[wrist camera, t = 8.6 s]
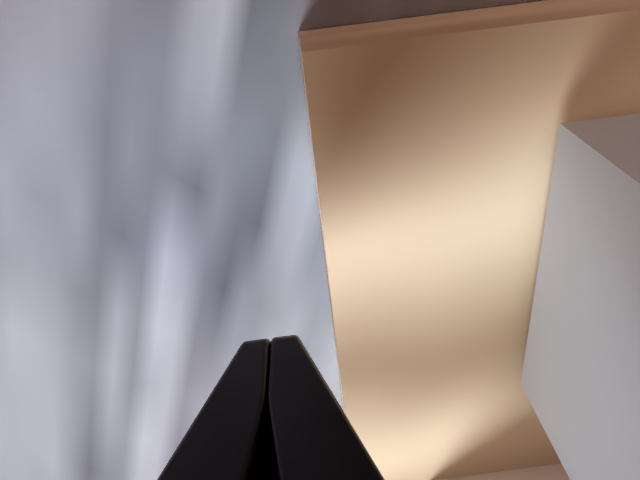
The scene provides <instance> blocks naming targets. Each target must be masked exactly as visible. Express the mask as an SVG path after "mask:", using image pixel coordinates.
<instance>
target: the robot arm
mask: <svg viewBox="0 0 640 480" xmlns="http://www.w3.org/2000/svg"><path fill="white" fill-rule="evenodd" d="M158 480H385V479H384V478H383V476H382V474H381V473H380V471H379V469H378V468H377V466H376V465H375V463H374V461H373V460H372V458H371V456H370V455H369V453H368V451H367V450H366V448H365V446H364V445H363V443H362V441H361V440H360V438H359V436H358V435H357V433H356V431H355V430H354V428H353V426H352V425H351V423H350V421H349V420H348V418H347V416H346V415H345V413H344V411H343V410H342V408H341V406H340V405H339V403H338V401H337V400H336V398H335V396H334V395H333V393H332V391H331V390H330V388H329V387H328V385H327V383H326V382H325V380H324V378H323V377H322V375H321V373H320V372H319V370H318V368H317V367H316V365H315V363H314V362H313V360H312V358H311V357H310V355H309V353H308V352H307V350H306V348H305V347H304V345H303V343H302V342H301V340H300V338H299V337H298V336H296V335H290V336H282V337H275V338H273V339H272V341H271V342H270V340H268V339H259V340H252V341H246V342H244V343H243V344H242V345H241V346H240V348H239V349H238V351H237V353H236V354H235V356H234V357H233V359H232V361H231V362H230V364H229V365H228V367H227V369H226V370H225V372H224V373H223V375H222V377H221V378H220V380H219V381H218V383H217V385H216V386H215V388H214V390H213V391H212V393H211V394H210V396H209V398H208V399H207V401H206V402H205V404H204V406H203V407H202V409H201V410H200V412H199V414H198V415H197V417H196V418H195V420H194V422H193V423H192V425H191V426H190V428H189V430H188V431H187V433H186V435H185V436H184V438H183V439H182V441H181V443H180V444H179V446H178V447H177V449H176V451H175V452H174V454H173V455H172V457H171V459H170V460H169V462H168V463H167V465H166V467H165V468H164V470H163V471H162V473H161V475H160V476H159V478H158Z"/></svg>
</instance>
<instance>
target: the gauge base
mask: <svg viewBox="0 0 640 480" xmlns="http://www.w3.org/2000/svg"><path fill="white" fill-rule="evenodd" d="M298 37H299V45H300V53H301V62H302V70H303V78H304V87H305V95H306V103H307V112H308V120H309V128H310V137H311V145H312V153H313V161H314V170H315V178H316V186H317V195H318V203H319V211H320V220H321V228H322V236H323V245H324V253H325V261H326V269H327V278H328V286H329V294H330V303H331V311H332V319H333V328H334V336H335V344H336V352H337V361H338V369H339V377H340V386H341V394H342V402H343V411H344V413H345V415H346V416H347V418H348V420H349V421H350V423H351V425H352V426H353V428H354V430H355V431H356V433H357V435H358V436H359V438H360V440H361V441H362V443H363V445H364V446H365V448H366V450H367V451H368V453H369V455H370V456H371V458H372V460H373V461H374V463H375V465H376V466H377V468H378V469H379V471H380V473H381V474H382V476H383V478H384V479H385V480H570V478H569V477H568V475H567V473H566V471H565V469H564V467H563V465H562V463H561V461H560V459H559V457H558V455H557V453H556V451H555V449H554V448H553V446H552V444H551V442H550V440H549V438H548V436H547V434H546V432H545V430H544V428H543V426H542V424H541V422H540V420H539V419H538V417H537V415H536V413H535V411H534V409H533V407H532V405H531V403H530V401H529V399H528V397H527V395H526V393H525V391H524V390H523V388H522V386H521V377H522V370H523V364H524V357H525V351H526V344H527V338H528V331H529V324H530V318H531V311H532V305H533V298H534V292H535V285H536V278H537V272H538V265H539V259H540V252H541V245H542V239H543V232H544V226H545V219H546V213H547V206H548V199H549V193H550V186H551V180H552V173H553V166H554V160H555V153H556V147H557V140H558V134H559V127H560V123H567V122H575V121H583V120H591V119H599V118H606V117H614V116H622V115H630V114H638V113H640V0H545V1H537V2H529V3H521V4H513V5H505V6H497V7H489V8H481V9H473V10H465V11H457V12H449V13H441V14H433V15H426V16H418V17H410V18H402V19H394V20H386V21H378V22H370V23H362V24H354V25H346V26H338V27H330V28H322V29H314V30H306V31H298Z"/></svg>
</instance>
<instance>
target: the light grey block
mask: <svg viewBox="0 0 640 480" xmlns="http://www.w3.org/2000/svg"><path fill="white" fill-rule="evenodd" d="M521 386H522V388H523V390H524V391H525V393H526V395H527V397H528V399H529V401H530V403H531V405H532V407H533V409H534V411H535V413H536V415H537V417H538V419H539V420H540V422H541V424H542V426H543V428H544V430H545V432H546V434H547V436H548V438H549V440H550V442H551V444H552V446H553V448H554V449H555V451H556V453H557V455H558V457H559V459H560V461H561V463H562V465H563V467H564V469H565V471H566V473H567V475H568V477H569V478H570V480H640V113H638V114H630V115H622V116H614V117H606V118H599V119H591V120H583V121H575V122H567V123H560V127H559V134H558V140H557V147H556V153H555V160H554V166H553V173H552V180H551V186H550V193H549V199H548V206H547V213H546V219H545V226H544V232H543V239H542V245H541V252H540V259H539V265H538V272H537V278H536V285H535V292H534V298H533V305H532V311H531V318H530V324H529V331H528V338H527V344H526V351H525V357H524V364H523V370H522V377H521Z"/></svg>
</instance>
